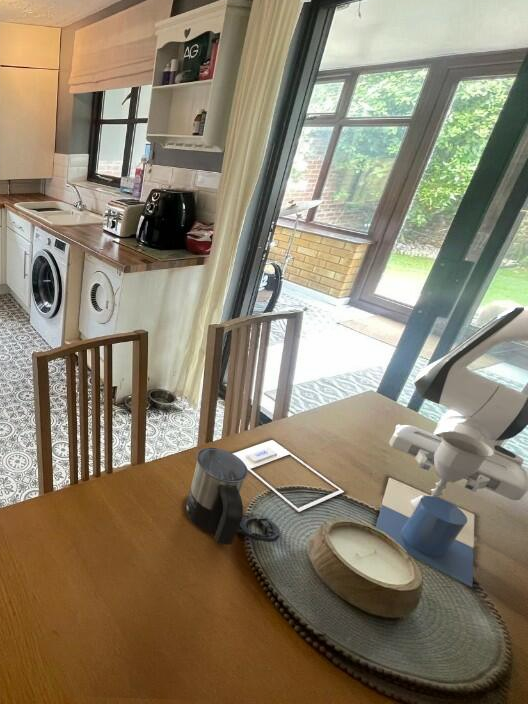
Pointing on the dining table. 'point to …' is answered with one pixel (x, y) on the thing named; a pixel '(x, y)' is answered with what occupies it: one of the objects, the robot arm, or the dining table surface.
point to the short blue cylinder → (433, 526)
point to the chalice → (456, 460)
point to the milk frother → (223, 498)
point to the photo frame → (272, 452)
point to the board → (392, 523)
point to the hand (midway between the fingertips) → (447, 476)
